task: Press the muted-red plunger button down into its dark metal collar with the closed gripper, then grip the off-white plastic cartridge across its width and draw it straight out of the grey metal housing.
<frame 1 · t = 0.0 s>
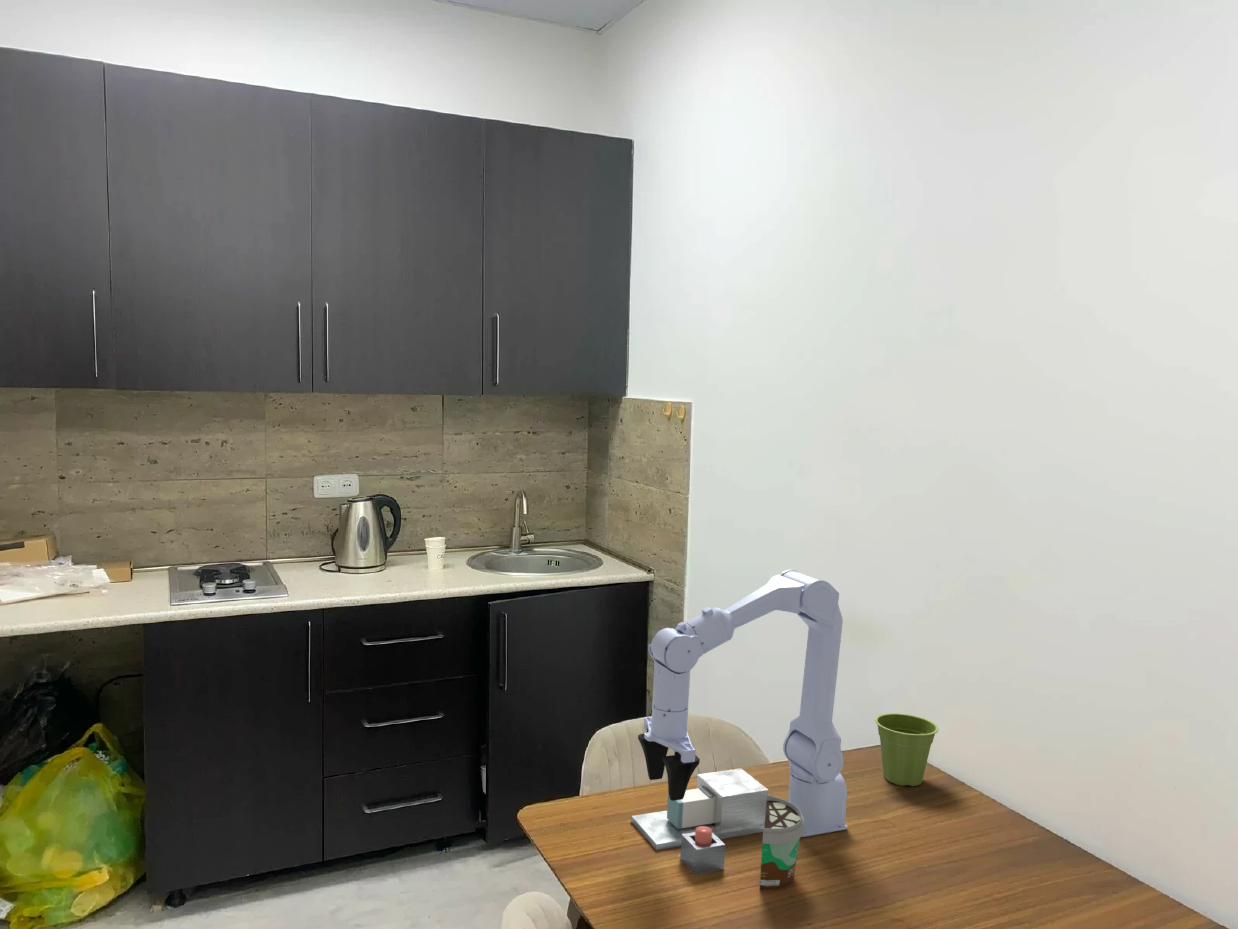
hand: (665, 788, 143), 10 cm above the table, tool pointing down, fingers open, 7 cm apart
housing: (722, 822, 154), on the table
food container: (781, 878, 138), on the table
plant pot: (902, 780, 176), on the table
plunger collar: (701, 864, 140), on the table
cartridge: (709, 804, 153), point 4 cm above the table, slide at 0.0 cm
plunger: (703, 842, 140), point 3 cm above the table, slide at 0.0 cm
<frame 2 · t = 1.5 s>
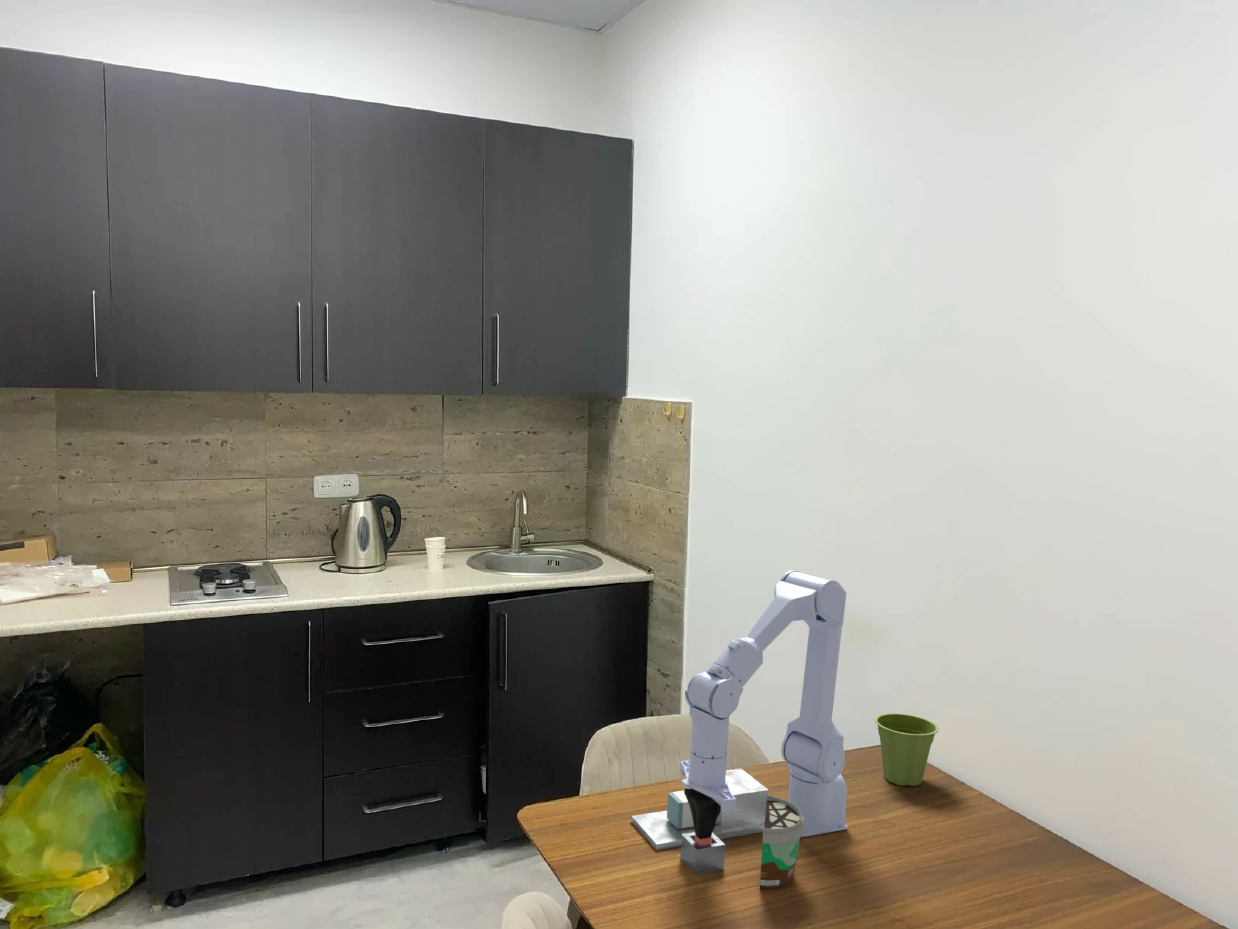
hand: (703, 836, 140), 5 cm above the table, tool pointing down, fingers closed, pressing on plunger
plunger: (702, 848, 140), point 3 cm above the table, slide at 1.0 cm, touching gripper
everything else where it was.
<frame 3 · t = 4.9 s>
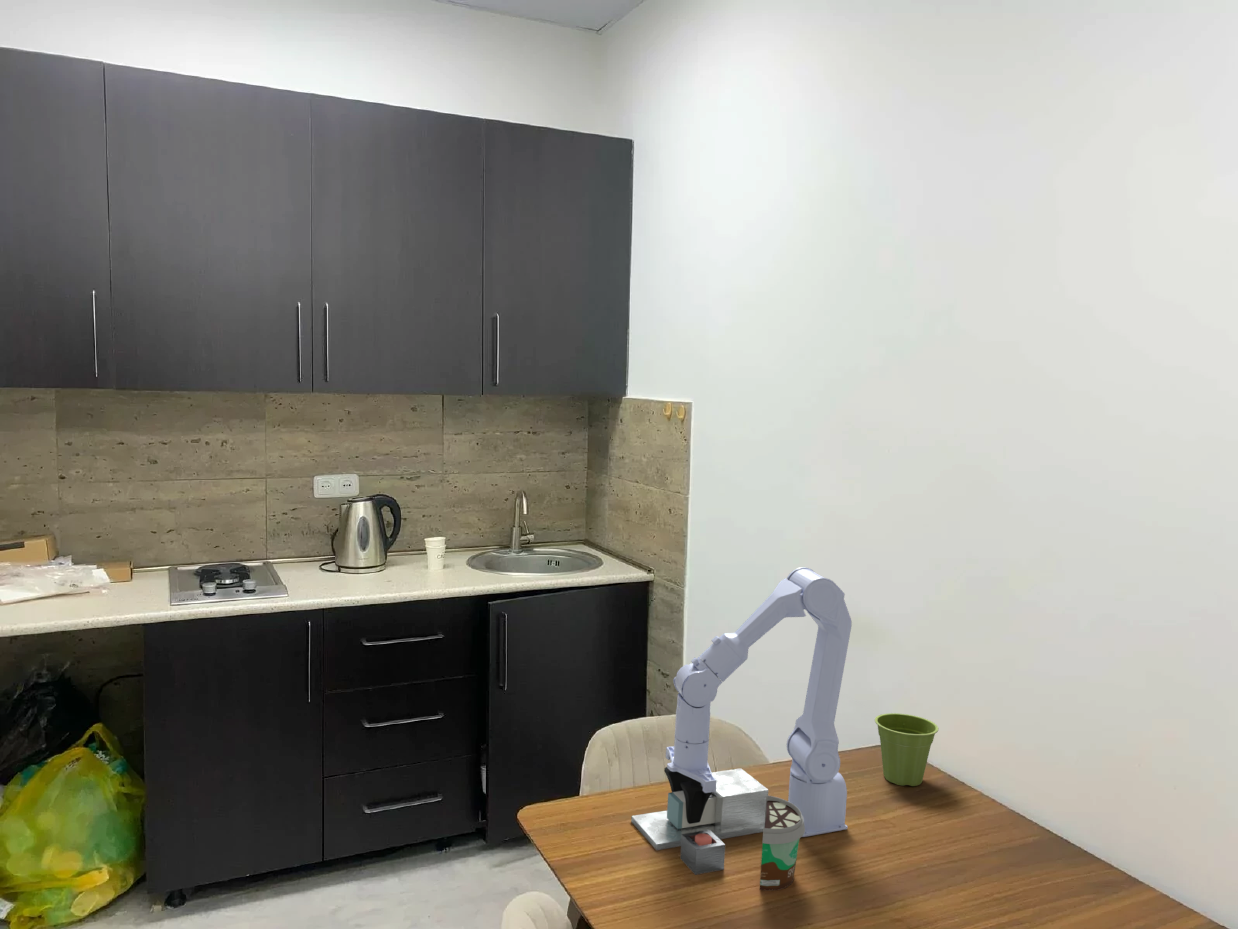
hand: (687, 815, 151), 2 cm above the table, tool pointing down, fingers closed on cartridge, 4 cm apart
cartridge: (709, 804, 153), point 4 cm above the table, slide at 0.0 cm, touching gripper
plunger: (702, 850, 140), point 2 cm above the table, slide at 1.2 cm
everything else where it was.
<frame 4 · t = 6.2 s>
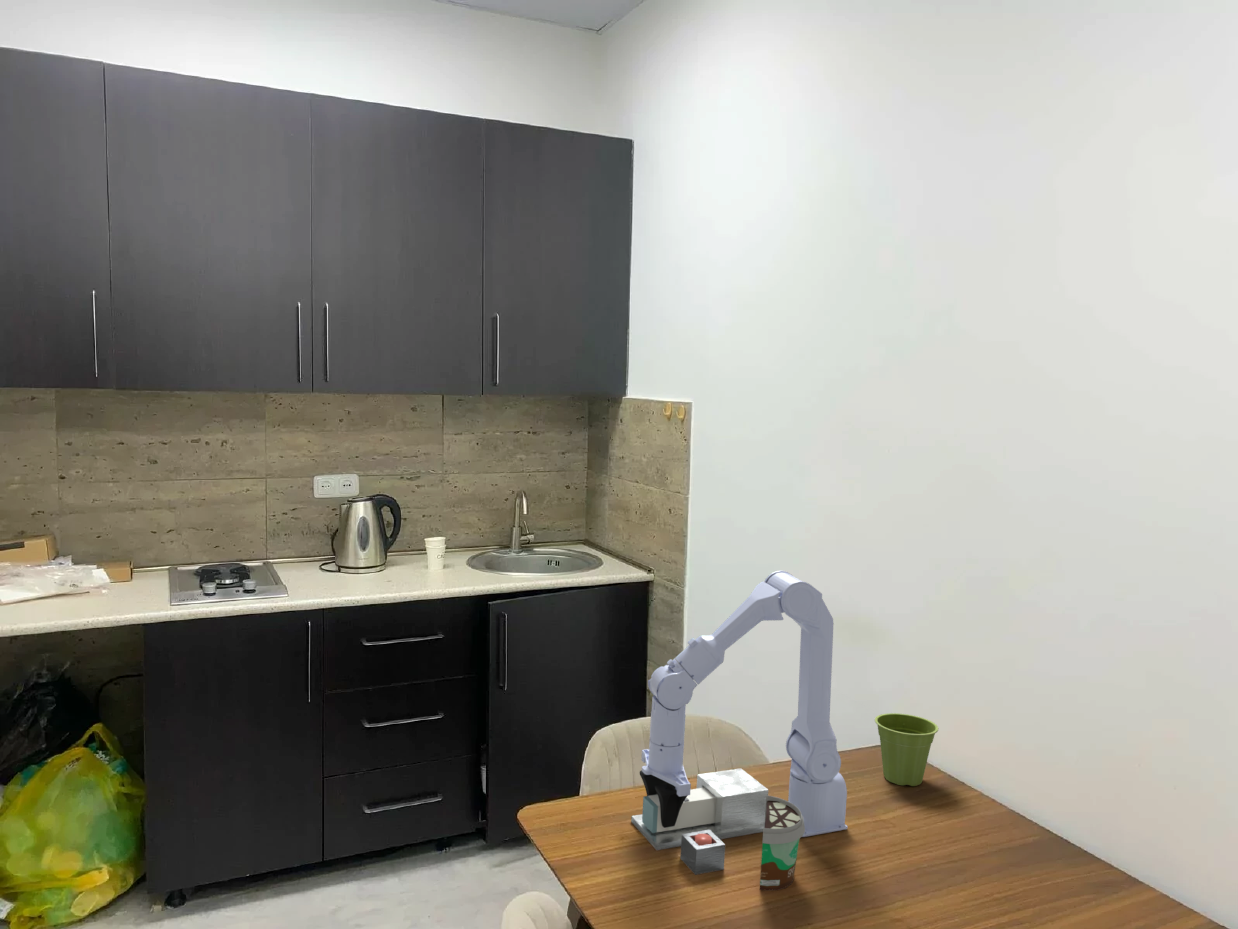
hand: (662, 819, 150), 2 cm above the table, tool pointing down, fingers closed on cartridge, 4 cm apart
cartridge: (684, 808, 151), point 4 cm above the table, slide at 4.6 cm, touching gripper
everything else where it was.
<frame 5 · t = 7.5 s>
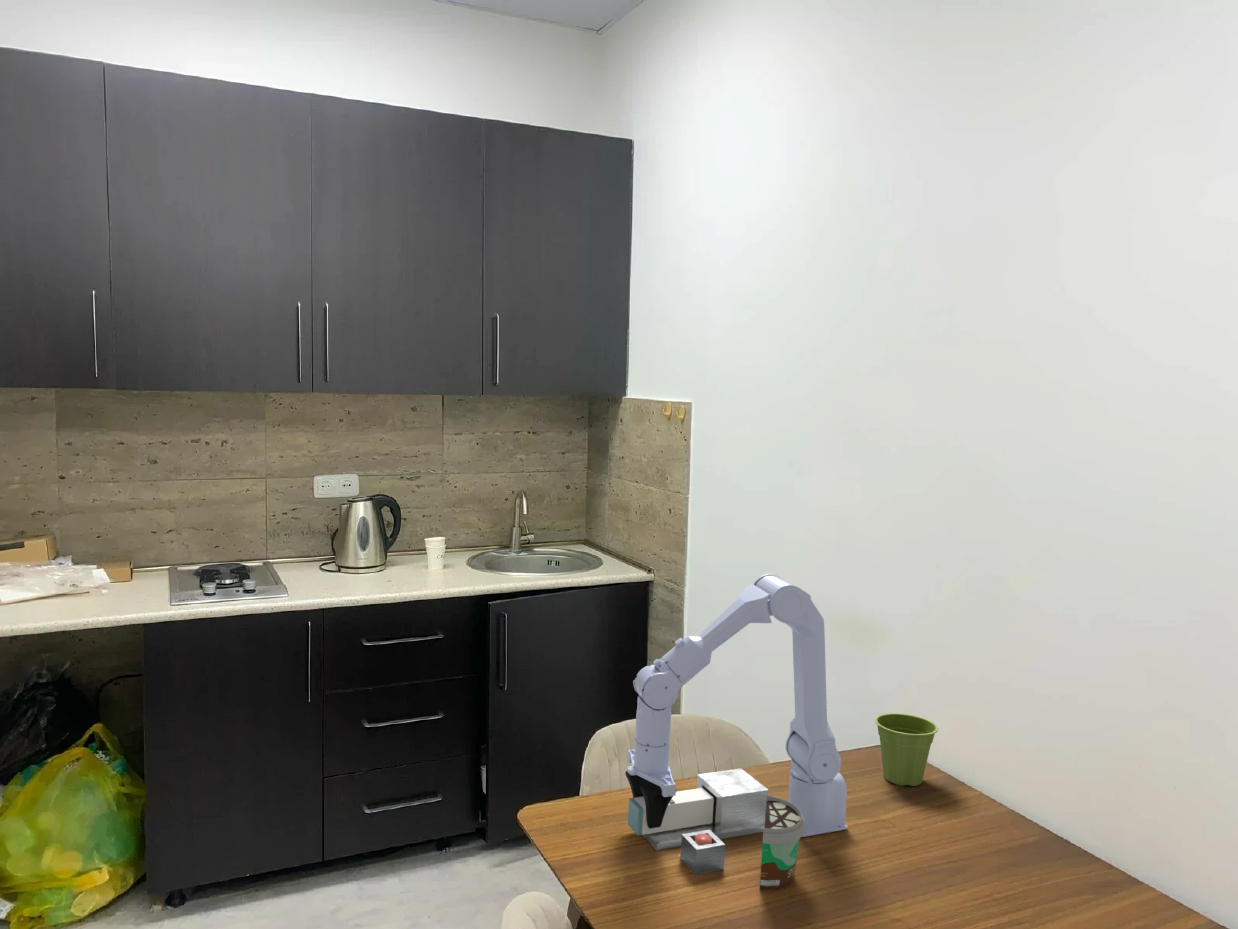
hand: (648, 820, 149), 3 cm above the table, tool pointing down, fingers closed on cartridge, 4 cm apart
cartridge: (670, 810, 150), point 4 cm above the table, slide at 7.2 cm, touching gripper
everything else where it was.
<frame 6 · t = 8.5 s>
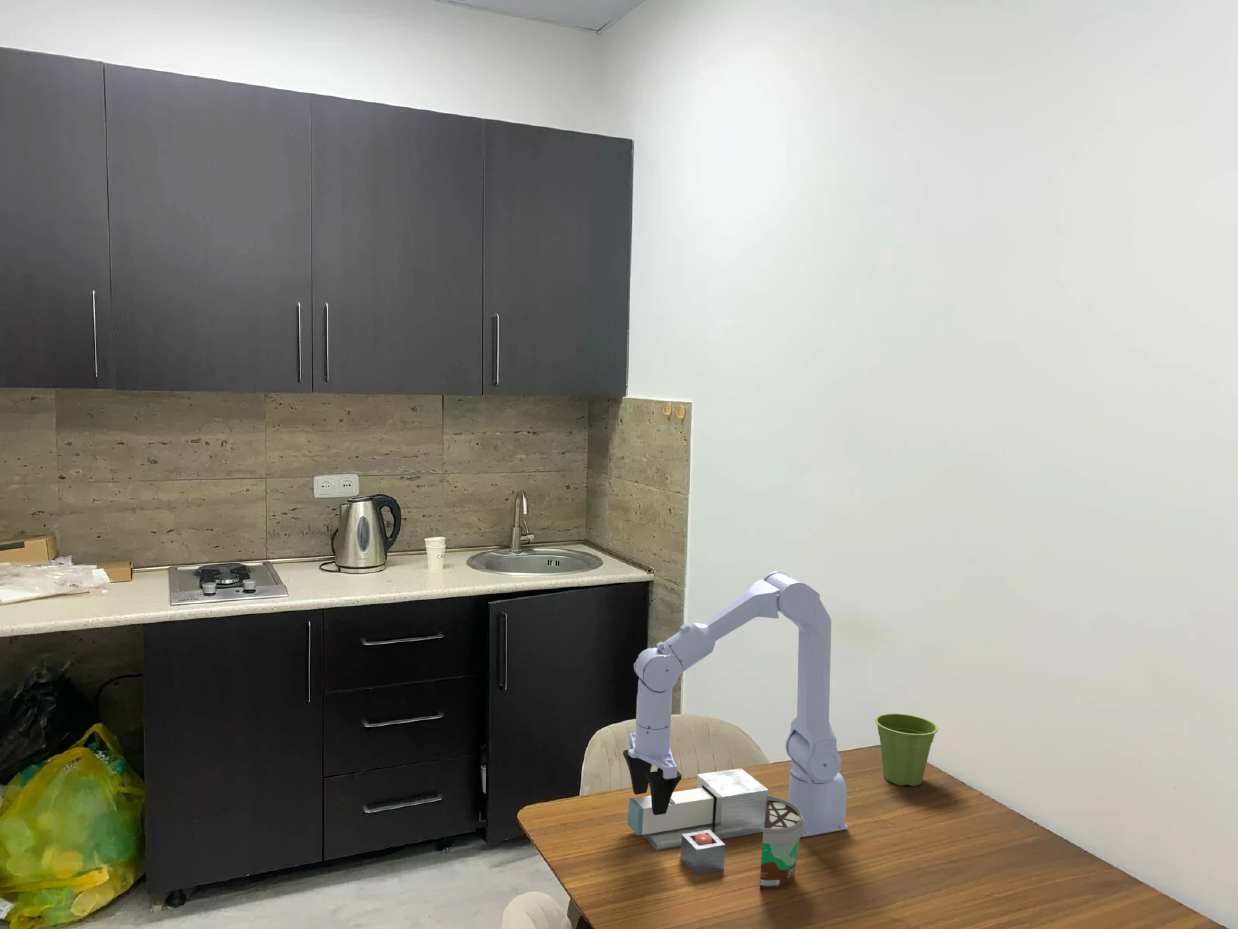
hand: (649, 803, 148), 5 cm above the table, tool pointing down, fingers open, 7 cm apart
cartridge: (670, 810, 150), point 4 cm above the table, slide at 7.3 cm
everything else where it was.
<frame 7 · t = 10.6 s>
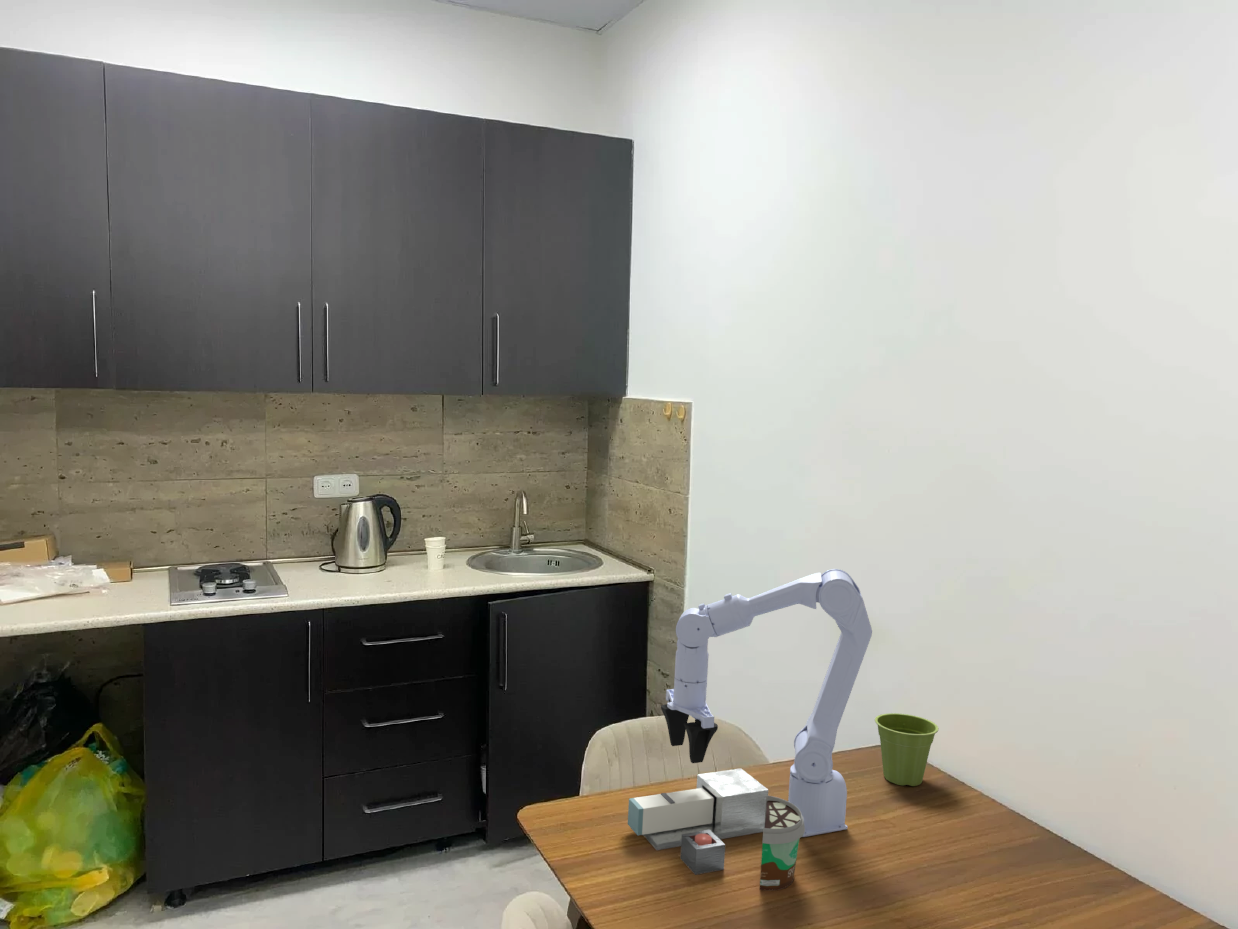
hand: (686, 753, 158), 10 cm above the table, tool pointing down, fingers open, 7 cm apart
nothing on the table moved.
at the end: cartridge slide at 7.3 cm; plunger slide at 1.2 cm; the gripper is holding nothing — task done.
